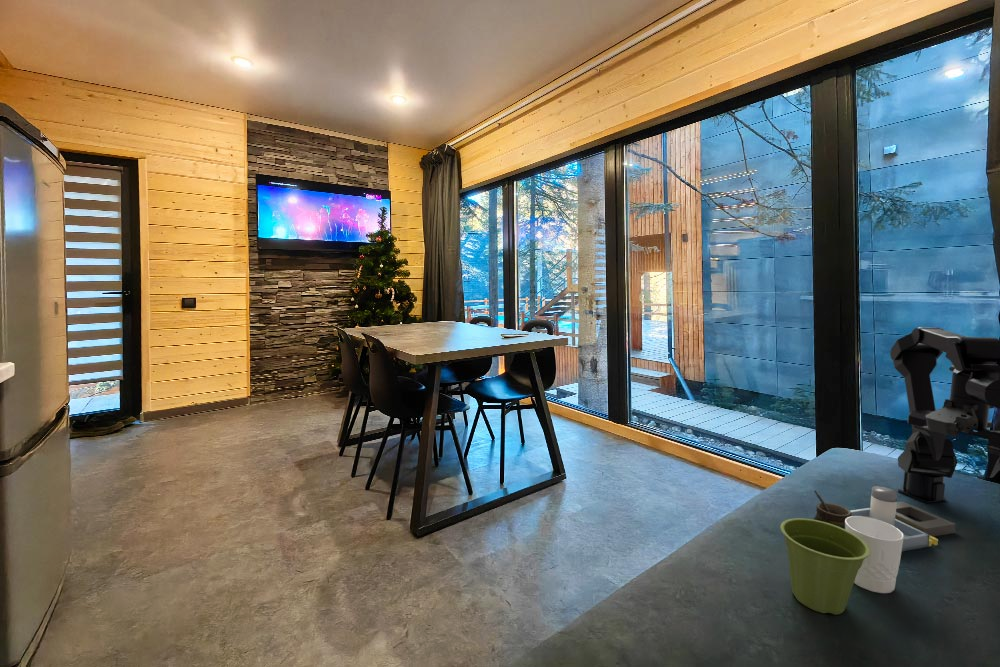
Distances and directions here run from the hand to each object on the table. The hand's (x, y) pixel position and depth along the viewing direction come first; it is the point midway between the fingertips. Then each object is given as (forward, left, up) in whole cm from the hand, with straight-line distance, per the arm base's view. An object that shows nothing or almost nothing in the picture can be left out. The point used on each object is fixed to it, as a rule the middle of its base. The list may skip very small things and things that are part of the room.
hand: (962, 468), depth 94 cm
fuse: (-1, -19, -12) cm, 23 cm away
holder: (-3, -7, -13) cm, 15 cm away
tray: (-1, -19, -13) cm, 23 cm away
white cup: (+10, -36, -13) cm, 40 cm away
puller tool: (0, -13, -13) cm, 18 cm away
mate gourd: (0, -33, -13) cm, 36 cm away
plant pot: (+12, -49, -13) cm, 52 cm away
